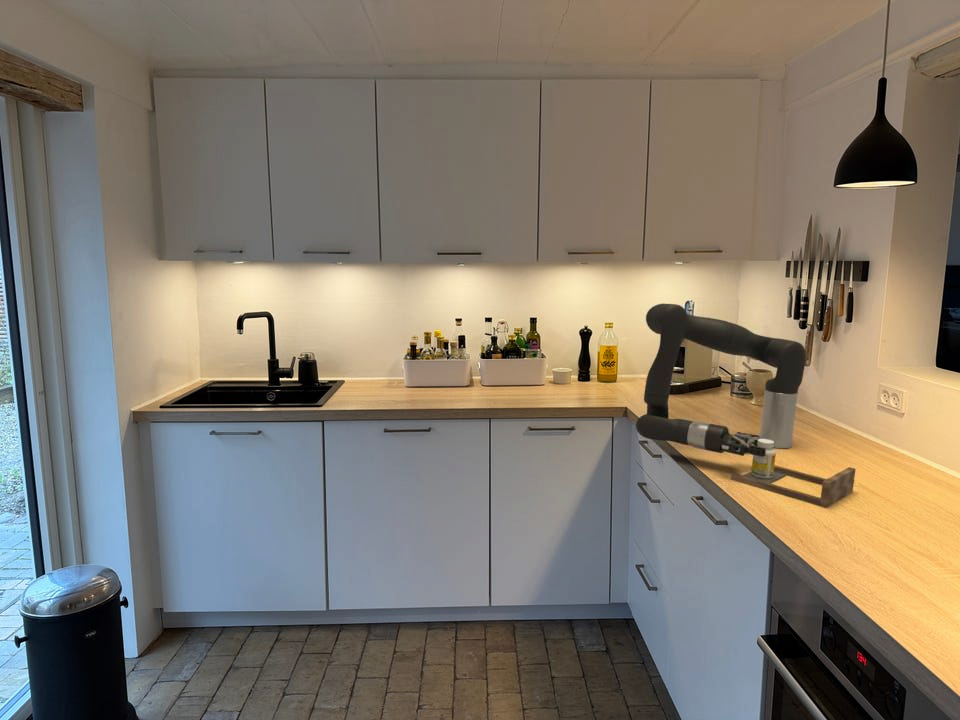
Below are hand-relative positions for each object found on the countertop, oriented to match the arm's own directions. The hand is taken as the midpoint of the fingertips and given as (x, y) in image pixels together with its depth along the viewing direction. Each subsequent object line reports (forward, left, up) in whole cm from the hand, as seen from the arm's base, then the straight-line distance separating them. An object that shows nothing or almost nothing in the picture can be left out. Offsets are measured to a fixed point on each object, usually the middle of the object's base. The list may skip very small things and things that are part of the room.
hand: (769, 449), depth 163 cm
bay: (0, +5, -8) cm, 10 cm away
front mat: (0, -1, -8) cm, 8 cm away
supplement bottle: (0, -1, -8) cm, 8 cm away
